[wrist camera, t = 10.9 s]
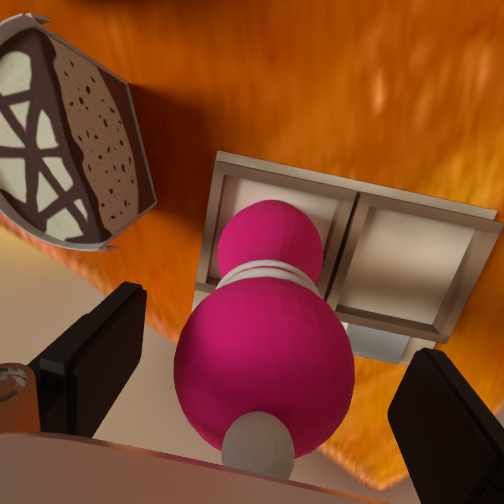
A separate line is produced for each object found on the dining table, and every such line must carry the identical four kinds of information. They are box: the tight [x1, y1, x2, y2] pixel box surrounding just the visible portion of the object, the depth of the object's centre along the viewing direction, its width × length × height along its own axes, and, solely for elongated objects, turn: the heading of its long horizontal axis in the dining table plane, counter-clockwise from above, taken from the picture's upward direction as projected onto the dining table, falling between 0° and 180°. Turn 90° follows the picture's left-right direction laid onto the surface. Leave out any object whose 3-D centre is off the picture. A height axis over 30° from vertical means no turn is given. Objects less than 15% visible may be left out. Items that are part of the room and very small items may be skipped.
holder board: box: [192, 151, 504, 365], centre depth 26 cm, size 15×22×2 cm
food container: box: [0, 13, 158, 251], centre depth 21 cm, size 12×6×10 cm, turn 9°
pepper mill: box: [174, 200, 355, 480], centre depth 16 cm, size 7×7×20 cm
